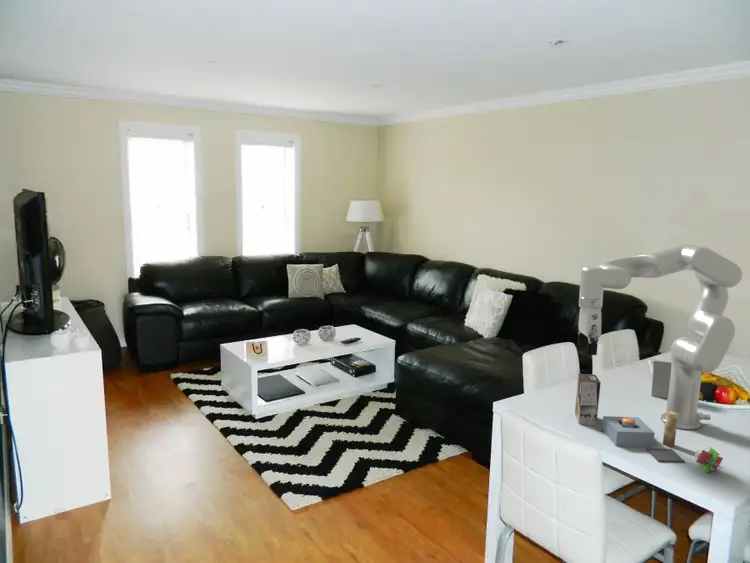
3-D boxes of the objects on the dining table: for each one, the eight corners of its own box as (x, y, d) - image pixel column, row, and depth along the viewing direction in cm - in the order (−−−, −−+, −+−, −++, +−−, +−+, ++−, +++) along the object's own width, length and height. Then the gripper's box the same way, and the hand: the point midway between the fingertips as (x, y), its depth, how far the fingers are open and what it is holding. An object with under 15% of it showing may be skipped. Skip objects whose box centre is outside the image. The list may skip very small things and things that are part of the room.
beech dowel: (671, 442, 182) (674, 411, 180) (676, 447, 178) (680, 415, 176) (660, 442, 182) (664, 411, 180) (665, 446, 178) (669, 415, 176)
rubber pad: (671, 450, 176) (671, 448, 176) (684, 462, 168) (684, 460, 168) (646, 449, 176) (646, 447, 176) (658, 461, 168) (658, 460, 168)
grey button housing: (636, 430, 190) (638, 417, 189) (652, 446, 178) (654, 432, 177) (602, 429, 190) (603, 416, 189) (615, 445, 179) (617, 431, 178)
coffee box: (597, 426, 193) (601, 382, 191) (578, 424, 195) (581, 381, 192) (592, 415, 202) (596, 374, 199) (574, 413, 203) (577, 372, 201)
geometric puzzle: (720, 458, 167) (706, 438, 166) (734, 469, 160) (720, 448, 159) (699, 470, 168) (686, 451, 167) (712, 482, 161) (698, 462, 160)
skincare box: (674, 395, 223) (678, 358, 221) (673, 400, 218) (677, 363, 215) (651, 391, 228) (655, 354, 225) (649, 396, 222) (653, 359, 219)
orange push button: (630, 428, 186) (632, 417, 185) (636, 433, 182) (637, 422, 181) (619, 427, 186) (620, 417, 185) (623, 432, 182) (625, 422, 181)
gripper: (611, 308, 178) (606, 358, 181) (593, 297, 195) (589, 343, 198) (587, 307, 178) (583, 358, 181) (571, 297, 195) (568, 343, 198)
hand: (586, 350), depth 189 cm, fingers open, 9 cm apart
